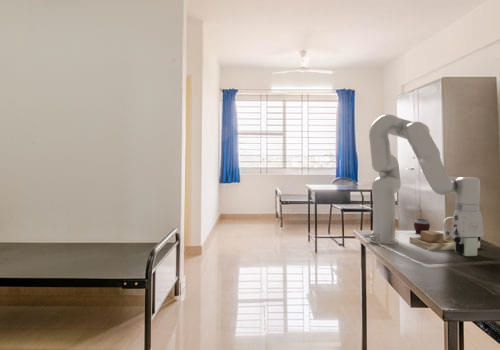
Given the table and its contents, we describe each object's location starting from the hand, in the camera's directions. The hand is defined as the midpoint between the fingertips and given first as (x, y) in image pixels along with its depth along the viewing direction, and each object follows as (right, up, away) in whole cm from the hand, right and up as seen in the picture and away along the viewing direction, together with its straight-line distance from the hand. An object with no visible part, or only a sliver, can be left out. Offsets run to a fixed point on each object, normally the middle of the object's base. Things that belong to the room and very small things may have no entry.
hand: (465, 252), depth 112 cm
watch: (+14, -1, +26) cm, 29 cm away
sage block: (0, -2, 0) cm, 2 cm away
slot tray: (-1, -1, +12) cm, 12 cm away
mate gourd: (+3, -1, +35) cm, 35 cm away
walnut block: (-6, 0, +11) cm, 13 cm away
